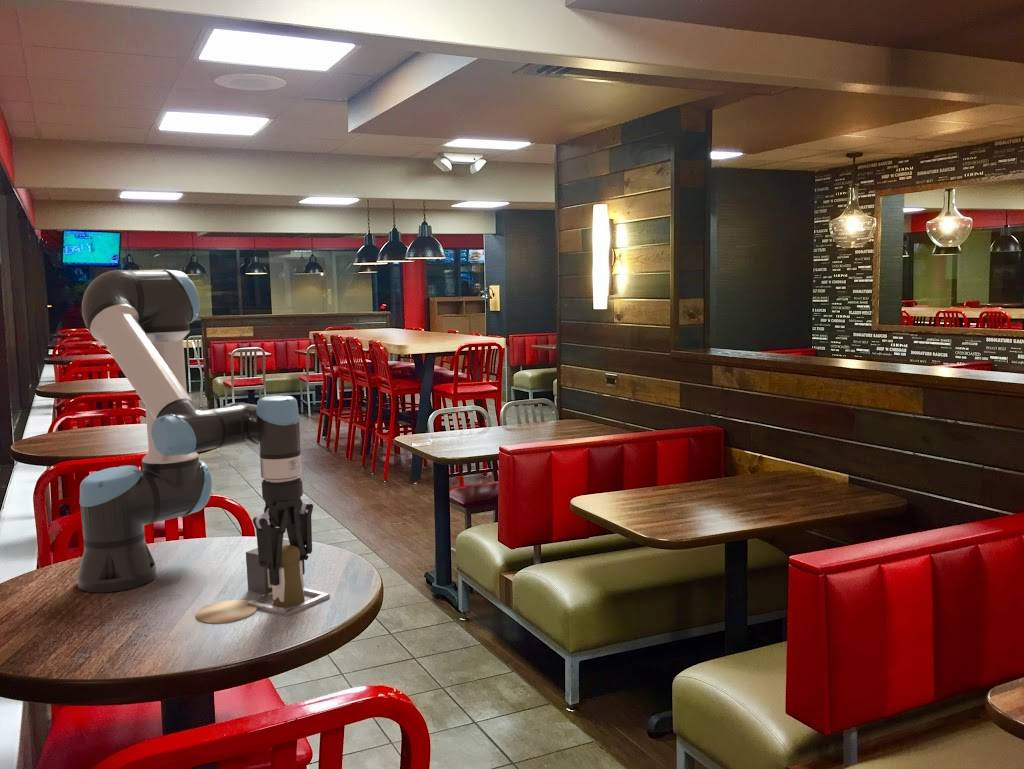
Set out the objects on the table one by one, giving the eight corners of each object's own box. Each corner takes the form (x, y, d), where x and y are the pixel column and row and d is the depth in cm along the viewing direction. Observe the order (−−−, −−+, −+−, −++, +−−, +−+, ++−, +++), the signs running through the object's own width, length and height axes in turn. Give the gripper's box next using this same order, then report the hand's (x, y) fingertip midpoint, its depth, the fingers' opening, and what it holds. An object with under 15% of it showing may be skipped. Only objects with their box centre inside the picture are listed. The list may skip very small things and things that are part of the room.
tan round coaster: (183, 616, 165) (182, 614, 165) (230, 597, 174) (230, 596, 174) (222, 627, 159) (222, 625, 159) (269, 607, 168) (269, 606, 168)
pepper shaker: (296, 608, 167) (293, 552, 166) (267, 606, 169) (263, 550, 167) (310, 597, 173) (307, 542, 172) (281, 595, 175) (278, 541, 173)
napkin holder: (248, 590, 178) (245, 552, 177) (285, 576, 186) (283, 539, 185) (266, 595, 175) (264, 556, 174) (303, 580, 183) (301, 542, 182)
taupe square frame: (246, 606, 169) (246, 602, 169) (289, 588, 179) (289, 584, 178) (287, 616, 163) (287, 612, 163) (329, 597, 173) (329, 593, 173)
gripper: (260, 489, 159) (268, 614, 162) (328, 470, 173) (333, 585, 176) (232, 485, 163) (240, 607, 166) (300, 467, 177) (306, 579, 180)
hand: (288, 596), depth 171 cm, fingers closed on pepper shaker, 4 cm apart
